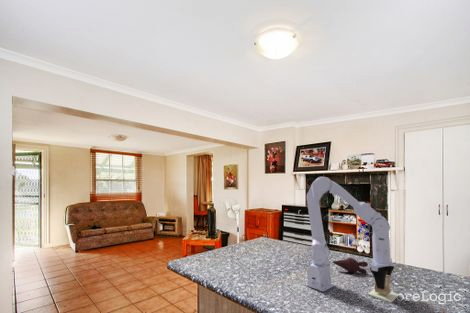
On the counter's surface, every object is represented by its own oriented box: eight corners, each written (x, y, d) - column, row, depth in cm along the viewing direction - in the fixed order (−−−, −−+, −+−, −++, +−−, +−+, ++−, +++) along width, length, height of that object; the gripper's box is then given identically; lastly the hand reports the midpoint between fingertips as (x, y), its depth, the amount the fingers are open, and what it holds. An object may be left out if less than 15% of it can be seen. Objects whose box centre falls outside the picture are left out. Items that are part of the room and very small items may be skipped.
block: (386, 295, 93) (385, 278, 94) (374, 291, 96) (374, 275, 97) (390, 292, 96) (389, 275, 96) (379, 288, 99) (378, 272, 99)
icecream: (333, 259, 119) (369, 266, 114) (332, 251, 126) (367, 257, 121) (332, 273, 120) (367, 280, 115) (331, 264, 127) (365, 270, 122)
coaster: (391, 303, 90) (391, 301, 90) (367, 295, 96) (367, 293, 96) (399, 296, 95) (399, 294, 95) (376, 289, 101) (376, 287, 101)
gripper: (385, 255, 90) (387, 295, 88) (399, 248, 99) (401, 284, 98) (364, 250, 95) (366, 289, 94) (380, 244, 104) (381, 279, 103)
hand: (382, 286), depth 96 cm, fingers closed on block, 4 cm apart
